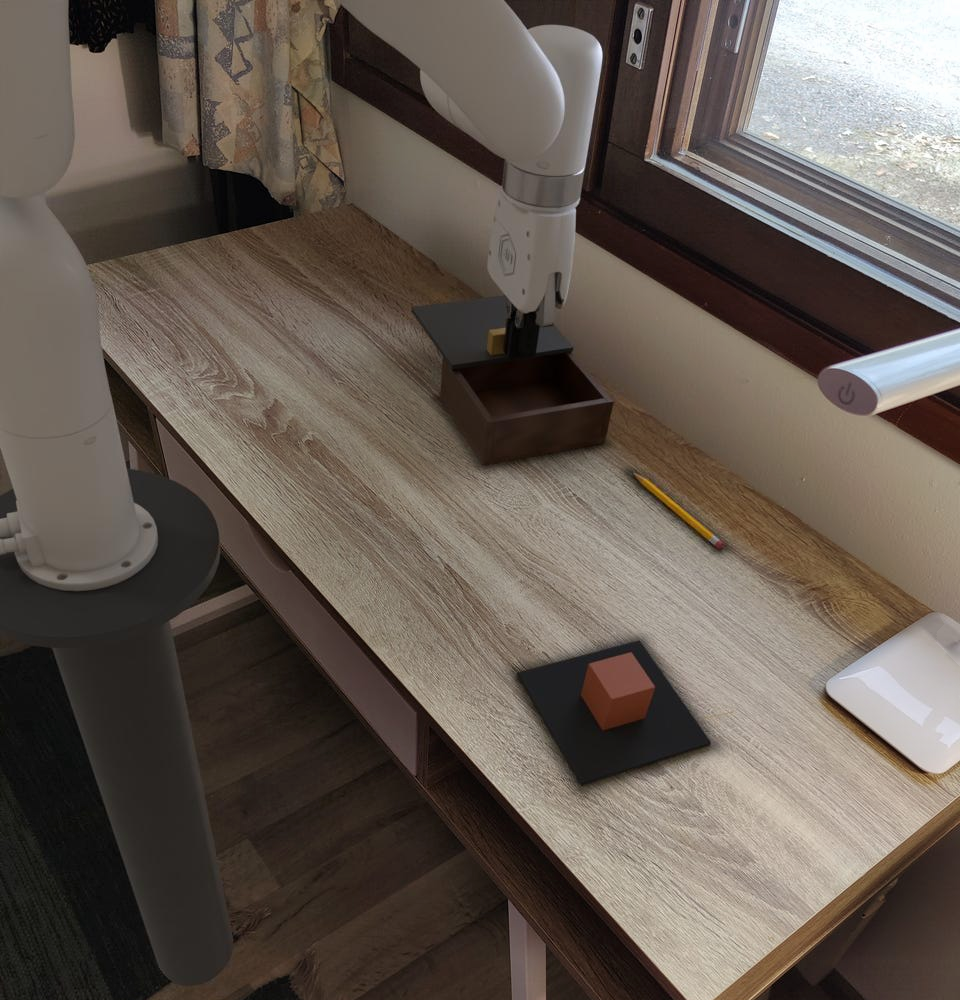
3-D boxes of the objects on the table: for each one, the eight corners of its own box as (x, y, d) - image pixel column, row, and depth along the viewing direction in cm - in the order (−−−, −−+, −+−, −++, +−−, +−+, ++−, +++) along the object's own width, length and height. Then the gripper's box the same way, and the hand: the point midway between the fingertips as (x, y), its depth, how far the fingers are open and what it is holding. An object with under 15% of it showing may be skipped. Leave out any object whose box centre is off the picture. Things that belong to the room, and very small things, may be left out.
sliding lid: (451, 369, 105) (453, 344, 103) (411, 311, 113) (412, 286, 111) (572, 351, 110) (577, 327, 108) (525, 296, 118) (529, 273, 116)
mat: (580, 786, 77) (581, 783, 76) (517, 675, 84) (517, 672, 84) (710, 745, 81) (711, 742, 80) (638, 643, 88) (639, 639, 88)
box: (483, 465, 103) (488, 422, 100) (439, 399, 111) (442, 357, 107) (604, 443, 108) (614, 401, 104) (555, 381, 116) (561, 339, 112)
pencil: (717, 550, 98) (719, 545, 97) (629, 476, 105) (631, 471, 104) (723, 547, 98) (725, 542, 98) (635, 474, 105) (636, 468, 105)
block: (602, 730, 80) (611, 699, 77) (580, 695, 83) (588, 663, 80) (645, 718, 81) (655, 687, 79) (621, 683, 84) (631, 651, 81)
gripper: (475, 151, 96) (460, 323, 109) (540, 218, 87) (516, 397, 100) (544, 146, 99) (521, 315, 112) (614, 211, 90) (581, 387, 103)
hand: (519, 354), depth 106 cm, fingers closed
